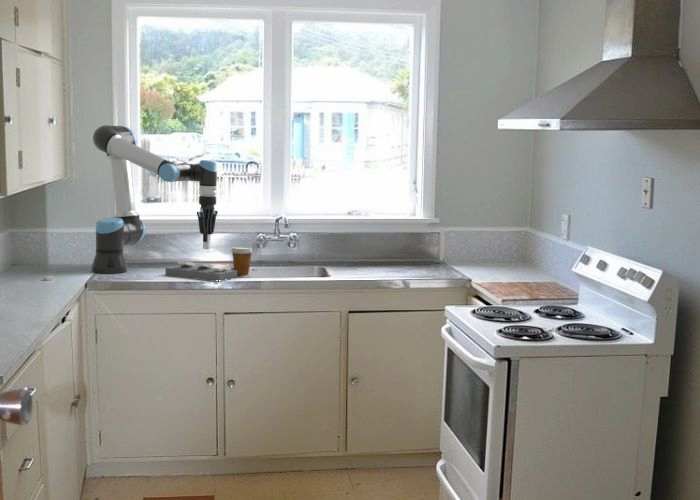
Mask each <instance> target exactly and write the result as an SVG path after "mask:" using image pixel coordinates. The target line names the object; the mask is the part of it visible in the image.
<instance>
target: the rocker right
mask: <svg viewBox="0 0 700 500" xmlns="http://www.w3.org/2000/svg"><path fill="white" fill-rule="evenodd" d="M229 267H230V263H227V262H220V263H218V264H216V265H214V266H212V271H222V270H224V269H228V268H229Z"/></svg>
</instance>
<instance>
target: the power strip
mask: <svg viewBox="0 0 700 500" xmlns="http://www.w3.org/2000/svg"><path fill="white" fill-rule="evenodd" d="M164 272H165V273H164V274H165V276H170V277H176V276H179V277H178V278H185V277H189V278H188V279H193V278H198V279H197V280H202V279H205V280H204V281H210V280H218V281H217V282H220V281H219V280H224V281H226V280H225V279H228V280H232V279H231V278H233V279H236V278H238V275H237V270H234V269H230V268H229V269H228V268H226V269H224V270H222V271H212V268H207V267H201V266H197V265H195V266H191V265H184V264H179V265H175V266H169V267H165V271H164Z"/></svg>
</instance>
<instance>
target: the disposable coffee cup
mask: <svg viewBox="0 0 700 500" xmlns="http://www.w3.org/2000/svg"><path fill="white" fill-rule="evenodd" d="M230 251H231V253H232V254H231V255H232V260H233V261H232V262H233V263H232V264H233V270H237V276H248V275H249V271H250V265H251V260H252V259H251V258H252V254H253V249H252V247H250V246H232V248H231V250H230Z"/></svg>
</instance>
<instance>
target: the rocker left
mask: <svg viewBox="0 0 700 500" xmlns="http://www.w3.org/2000/svg"><path fill="white" fill-rule="evenodd" d="M177 264H179V265H191V266H196V265H195V262H191V261H182V260H178V261H177Z"/></svg>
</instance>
